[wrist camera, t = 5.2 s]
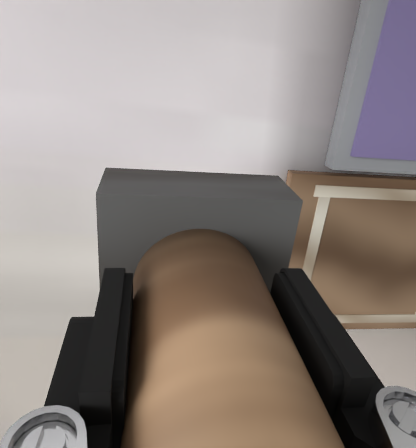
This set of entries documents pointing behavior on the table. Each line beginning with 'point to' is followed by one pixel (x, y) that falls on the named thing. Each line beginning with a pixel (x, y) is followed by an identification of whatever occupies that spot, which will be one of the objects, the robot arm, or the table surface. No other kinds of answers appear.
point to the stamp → (208, 311)
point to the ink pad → (378, 93)
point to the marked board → (359, 245)
